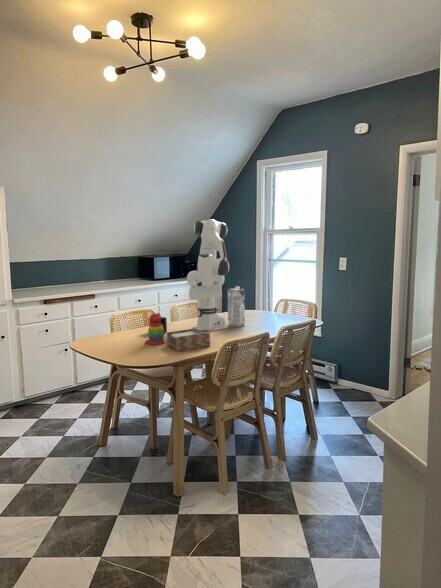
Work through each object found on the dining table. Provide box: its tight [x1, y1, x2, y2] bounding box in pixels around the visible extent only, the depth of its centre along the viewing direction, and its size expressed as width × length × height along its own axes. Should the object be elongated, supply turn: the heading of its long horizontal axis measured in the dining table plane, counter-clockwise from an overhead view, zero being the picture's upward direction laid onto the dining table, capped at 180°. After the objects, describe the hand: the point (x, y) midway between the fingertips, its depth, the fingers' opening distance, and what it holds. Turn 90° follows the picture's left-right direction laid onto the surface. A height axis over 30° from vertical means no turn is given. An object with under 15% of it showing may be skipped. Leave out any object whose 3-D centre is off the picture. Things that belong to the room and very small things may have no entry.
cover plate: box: [171, 326, 204, 339], centre depth 245 cm, size 17×11×4 cm, turn 123°
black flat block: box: [149, 316, 168, 334], centre depth 280 cm, size 4×10×10 cm, turn 78°
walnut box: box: [166, 328, 211, 353], centre depth 246 cm, size 20×14×8 cm
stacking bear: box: [144, 312, 165, 346], centre depth 254 cm, size 11×10×18 cm
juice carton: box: [227, 286, 246, 328], centre depth 297 cm, size 9×10×27 cm
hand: (206, 306), depth 249 cm, fingers closed
